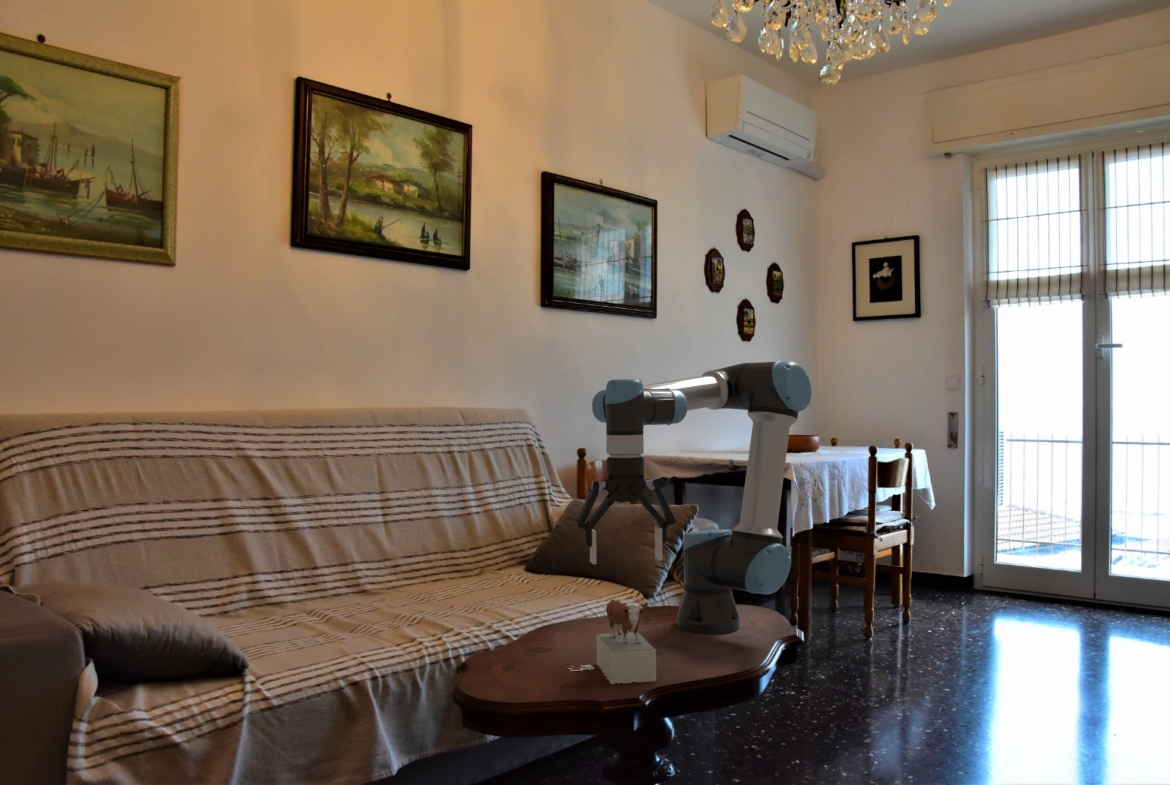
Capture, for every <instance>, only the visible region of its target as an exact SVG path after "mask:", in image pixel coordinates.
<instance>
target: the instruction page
mask: <svg viewBox="0 0 1170 785" xmlns="http://www.w3.org/2000/svg"><path fill="white" fill-rule="evenodd" d="M580 666H581V667H582V668H580V670H569V672H571V671H581V672H584V671H583V670H590V671H594V670H593V669H595V670H596V667H593V665H591V664H584V665H580ZM568 667H569V666H567V667H566V669H567V668H568ZM568 669H572V668H568ZM568 669H567V670H568ZM591 669H592V670H591Z"/></svg>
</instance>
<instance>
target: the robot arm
mask: <svg viewBox="0 0 1170 785" xmlns="http://www.w3.org/2000/svg"><path fill="white" fill-rule="evenodd" d="M811 399H812V384H811V381H810V377H809V375H808V374H807V372H806V370H805V368H803V366H801V365H800V364H799V363H797V362H795V361H782V360H776V361H762V362H743V363H736V364H733V365H730V366H726V367H721V368H717V369H713V370H712V369H711V370H707V371H705V372H704V373H702V374H701V376H694V377H687V378H683V379H682V378H681V379H674V380H669V381H662V382H657V383H656V382H655V383H649V384H644V383H643V380H641V379H635V378H634V379H632V378H631V379H630V378H629V379H623V378H622V379H621V378H620V379H610V380H608V381H607V383H606V387H605V389H603V390H602V389H601V390H599V391H597V392H596V394H594V397H593V398H592V402H591V409H592V410H591V411H592V414H593V417H594V418H595V419H596V420H597V422H600V423H602V424H603V423H605V429H606V436H605V437H606V439H605V440H606V442H605V443H606V444H605V446H606V448H605V449H606V450H605V451H606V452H605V453H606V454H607V455H609V456H608V457H607V458H606V462H605V463H606V478H605V481H598V480H595V479H593V480H591V482H590V490H589V492H588V496H587V497H586V499H585V501H584V504H583V506H582V508H581V509H580V512H579V514H578V516H577V518H576V521H575V526H576V527H577V528H579V529H582V530H583V531H584V545H585V546H586V547H587V548H589V562H590V563H591V565H597V563H598V562H597V531H596V530H595V529H594V528H595V526H596V525H597V524H598V523H599V522H600V520H601V519H602V518H603V516H604V515H605V514H606V513H607V512H608V510H609V509H610V508H611V506H612V505H614V504H615V502H617V503H621V504H623V503H626V502H628V503H635V502H636V501H637V502H638V503H639V504H640V505H641V506H642V507H643V508H644V510H645V511H646V512H647V513H648V514H649V515H650V517H651V518H652V519H653V520H654V521H655V522H656V523H657V526H656V525H655V526H654V559H655V560H656V561H659V562H660V561H663V544H666V543H667V541H668V540H667V539H668V535H667V532H668V531H667V530H668V528H669V526H670V525H675V524H676V523H677V522H676V521H677V520H676V518H675V515H674V514H673V512H672V510H671V508H670V505H669V504H668V502H667V500H666V499H665V496H664V494H663V492H662V490H661V482H660V480H659V479H658V478H656V477H655V478H651V479H647V480H645V458H643V456H642V455H643V454H644V453H645V452H644V450H645V449H644V434H645V433H644V426H658V425H661V426H663V425H666V426H670V425H673V424H679V423H681V422H682V421H683V420H684V419H685V417H686V415H687V413H688V411H692V410H698V409H703V408H707V409H709V410H713V411H714V410H715V411H716V410H720V409H721V410H723V409H724V410H725V409H726V410H727V409H730V410H743V411H747V416H748V417H749V419H750V420H751V421H752V428H751V435H750V443H749V449H748V450H749V452H748V459H747V466H746V473H745V474H746V475H745V482H744V487H743V488H744V489H743V490H744V491H743V497H742V504H741V510H740V512H741V513H740V518H739V519H740V520H739V523H738V524H737V525H736V526H734V527H733V528H732V530H731V529H726V528H725V529H724V528H721V529H707V530H696V531H691V532H688V533H687V534H686V535H685V536H684V540H683V548H682V551H683V553H682V556H683V595H682V598H681V601H680V605H679V608H678V610H677V614H676V626H677V627H678V628H679V629H681V630H683V631H684V630H685V631H687V632H693V633H698V634H725V633H730V632H735V631H738V630H739V629H740V627H741V623H740V622H741V618H740V614H739V611H738V608H737V605H736V601H735V599H734V595H733V589H736V590H739V591H745V592H749V593H751V594H760V595H771V594H774V593H776V592H777V591H778V590H780V589H781V587H782V586H783V585H784V584H785V582H786V581H787V579H788V578H789V574H790V570H791V564H792V563H791V562H792V560H791V556H790V553H789V550H788V549H787V547H786V546H784V545H783V540H784V539H783V537H784V536H783V535H782V534H781V532H780V531H779V530H778V525H779V518H780V517H779V515H780V509H781V508H780V507H781V501H782V492H783V486H784V485H783V484H784V476H785V468H786V463H787V462H786V461H787V455H788V454H787V453H788V444H789V437H790V429H791V427H792V426H793V425H794V424H795V423H797V422H798V417H799V416H798V415H799V412H802V411H804V410H806V409H807V408H808V406H809V405H810V403H811ZM646 487H647V488H648V490H650V491H652V495H653V496H654V498H655V500H656V502H657V504H658V506H659V508H660V510H661V512H662V514H663V516H664V518H663V517H662V516H661V515H660V513H659V511H657V510H656V509H655V508H654V506H653V505H652V504H651V502H649V500H648V499H647V498H646V496H645V495H644V494H643V492H644V491H645V490H646ZM604 488H605V490H606V491H607V493H608V494H606V496H605V497H604V499H603V501H602V502H601V503H600V504H599V506H598V507H597V508H596V509H595V511H594V512H593V513H592V515H591V516H590V513H591V511H592V509H593V507H594V504H595V502H596V500H597V498H598V496H599V493H600V492H603V491H602V490H603V489H604ZM589 516H590V517H589ZM588 518H589V519H588Z"/></svg>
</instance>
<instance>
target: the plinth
mask: <svg viewBox="0 0 1170 785" xmlns="http://www.w3.org/2000/svg"><path fill="white" fill-rule="evenodd" d="M614 633H615V635H616V638H611V635H610V634H611V632H610V633H598V634H596V666H597V667H598V666H599V667H600V668H599V667H598V668H599V669H601V670H602V671H601V670H600V671H601V672H602V674H603V673H604V674H603V675H604V677H605V676H606V677H607V678H606V677H605V678H606V679H607V681H608V680H609V681H610V682H609V681H608V682H609V683H610V684H611V685H616V684H615V683H618V684H619V683H622V684H631V683H632V682H636V683H648V682H657V650H656V648H654V647H653V646H652V645H651V643H650V642H648V641H647V640H646V638H644V636H642V635H641V633H639V632H638V638H639V641H640V643H641V644H636V642H635V635H634V631H633V632H632V633H631V632H629V631H627V635H626V638H627V644H623V641H622V639H623V637H624V634H623V632H622V634H621V635H618V632H614ZM618 684H617V685H618ZM632 684H633V683H632ZM619 685H620V684H619Z"/></svg>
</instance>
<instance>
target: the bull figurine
mask: <svg viewBox="0 0 1170 785" xmlns="http://www.w3.org/2000/svg"><path fill="white" fill-rule="evenodd" d="M645 611H646V608H643V607H642V608H639V607H638V606H637V605H634V604H629V605H627V604H624V603H622V602H620V601H618V600H615V599H611V600H610V601H609V602H607V604H606V616H607V619H606V620H607V627H608V630H610V633H611V634H610V635H611V638H616V635H615V633H618V635H621V634H622V633H623V634H624V637H623V639H622V641H623V644H627V638H626V635H627V632H631V633H632V632H634V635H635V642H636V644H641V643H640V641H639V638H638V633H639V624H640V621H641V617H640V614H642V613H645ZM615 625H616V627H617V629H616V631H617V632H615V630H614V629H615V628H614V626H615Z"/></svg>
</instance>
